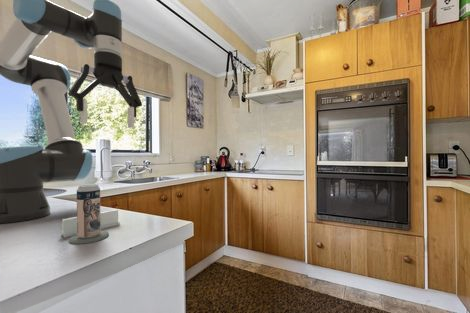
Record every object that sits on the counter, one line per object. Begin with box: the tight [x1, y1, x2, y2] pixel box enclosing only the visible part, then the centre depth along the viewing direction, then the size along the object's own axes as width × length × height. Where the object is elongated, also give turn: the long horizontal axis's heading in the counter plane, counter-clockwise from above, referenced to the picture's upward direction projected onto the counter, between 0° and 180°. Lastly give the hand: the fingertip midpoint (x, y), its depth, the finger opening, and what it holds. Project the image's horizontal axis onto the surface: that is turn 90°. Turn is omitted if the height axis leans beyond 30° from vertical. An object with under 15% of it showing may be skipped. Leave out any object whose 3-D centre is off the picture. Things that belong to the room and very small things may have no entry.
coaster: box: [68, 230, 109, 245], centre depth 55 cm, size 8×8×1 cm
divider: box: [60, 209, 121, 238], centre depth 62 cm, size 3×13×4 cm, turn 142°
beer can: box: [76, 184, 102, 239], centre depth 55 cm, size 5×5×12 cm
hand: (109, 125), depth 70 cm, fingers open, 13 cm apart
